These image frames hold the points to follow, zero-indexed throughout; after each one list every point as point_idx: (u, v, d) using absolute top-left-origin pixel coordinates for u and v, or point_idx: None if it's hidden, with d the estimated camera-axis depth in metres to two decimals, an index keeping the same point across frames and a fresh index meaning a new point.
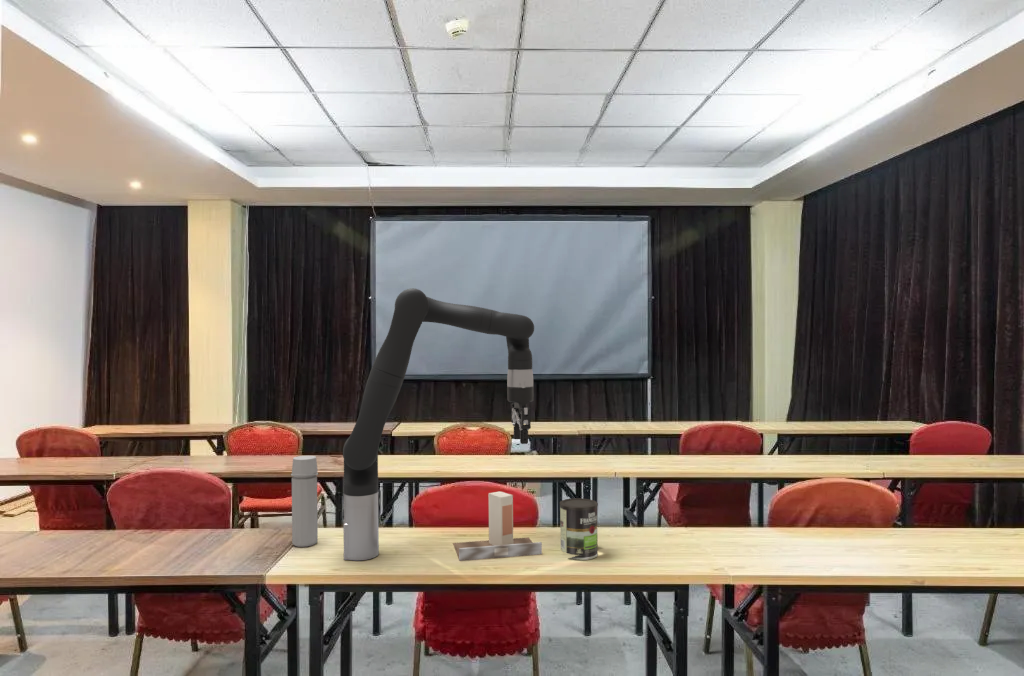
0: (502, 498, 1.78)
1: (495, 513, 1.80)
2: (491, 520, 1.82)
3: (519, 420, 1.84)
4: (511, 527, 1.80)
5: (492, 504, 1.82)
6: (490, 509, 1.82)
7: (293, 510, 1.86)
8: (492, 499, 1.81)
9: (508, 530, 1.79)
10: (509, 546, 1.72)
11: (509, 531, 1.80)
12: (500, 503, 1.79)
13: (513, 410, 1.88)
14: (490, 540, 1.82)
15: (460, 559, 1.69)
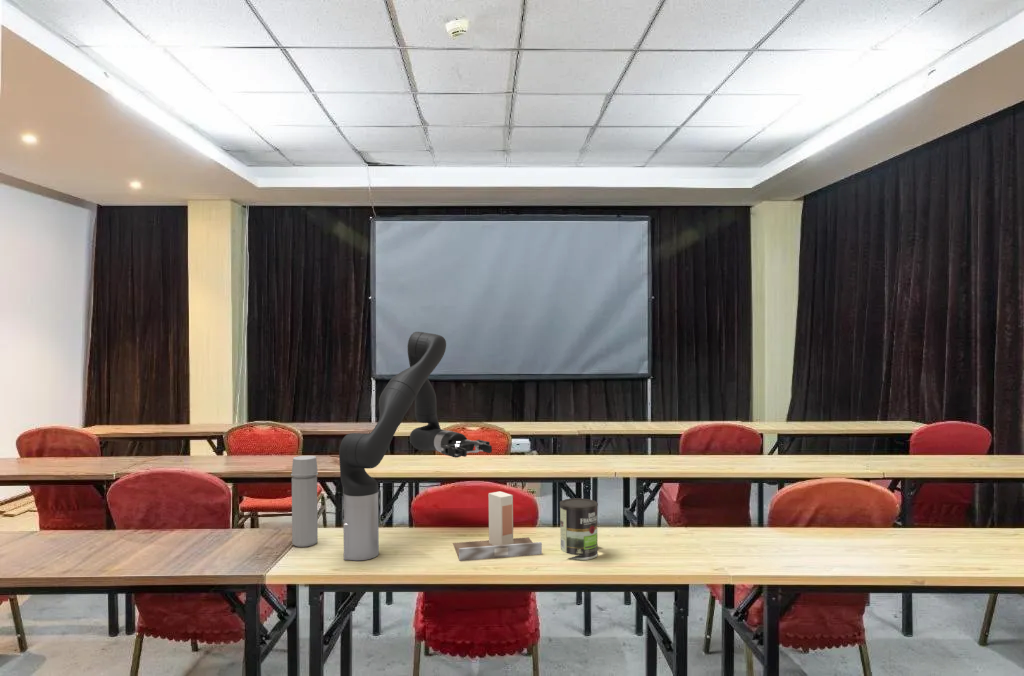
0: (502, 498, 1.78)
1: (495, 513, 1.80)
2: (491, 520, 1.82)
3: None
4: (511, 527, 1.80)
5: (492, 504, 1.82)
6: (490, 509, 1.82)
7: (293, 510, 1.86)
8: (492, 499, 1.81)
9: (508, 530, 1.79)
10: (509, 546, 1.72)
11: (509, 531, 1.80)
12: (500, 503, 1.79)
13: (460, 440, 1.97)
14: (490, 540, 1.82)
15: (460, 559, 1.69)
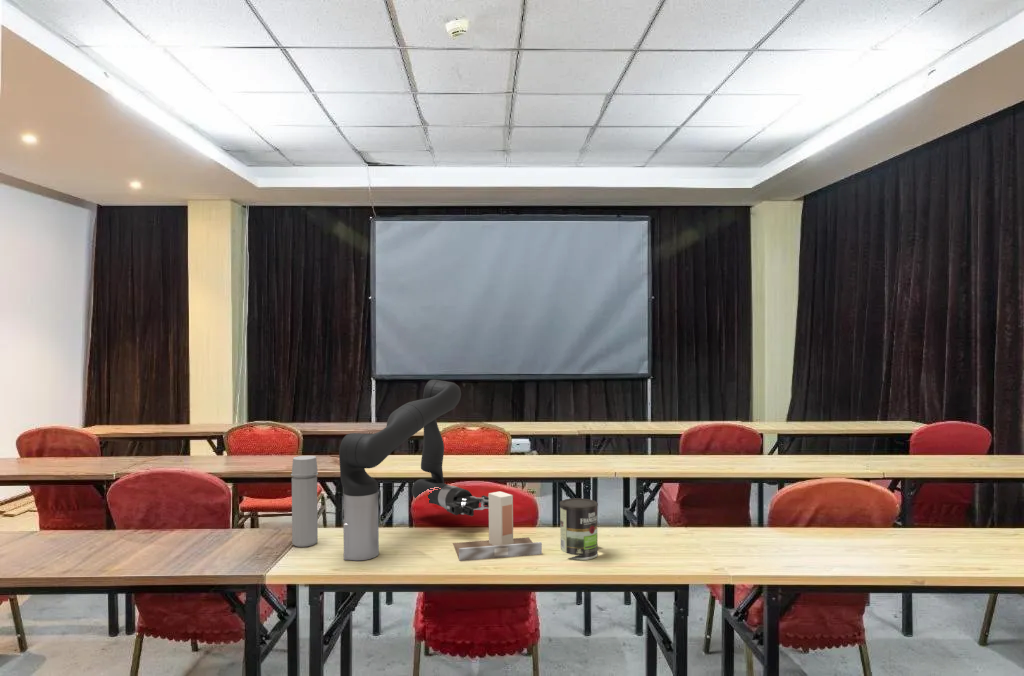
0: (502, 498, 1.78)
1: (495, 513, 1.80)
2: (491, 520, 1.82)
3: None
4: (511, 527, 1.80)
5: (492, 504, 1.82)
6: (490, 509, 1.82)
7: (293, 510, 1.86)
8: (492, 499, 1.81)
9: (508, 530, 1.79)
10: (509, 546, 1.72)
11: (509, 531, 1.80)
12: (500, 503, 1.79)
13: (466, 497, 1.95)
14: (490, 540, 1.82)
15: (460, 559, 1.69)
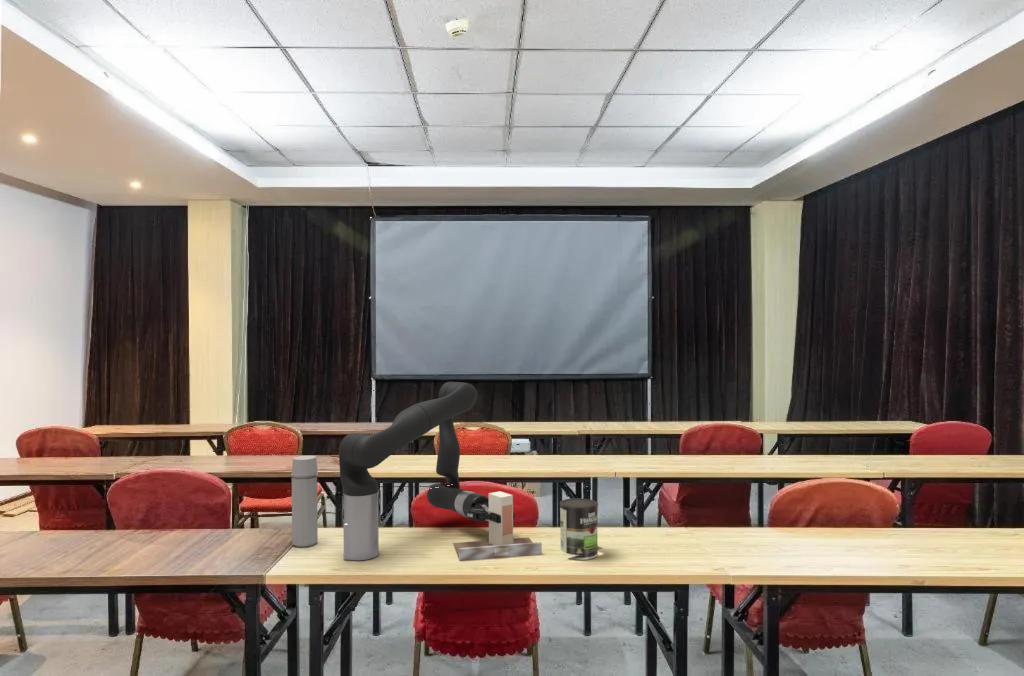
0: (502, 498, 1.78)
1: None
2: None
3: None
4: (511, 527, 1.80)
5: (492, 504, 1.82)
6: (490, 509, 1.82)
7: (293, 510, 1.86)
8: (492, 499, 1.81)
9: (508, 530, 1.79)
10: (509, 546, 1.72)
11: (509, 531, 1.80)
12: (500, 503, 1.79)
13: (484, 504, 1.87)
14: (490, 540, 1.82)
15: (460, 559, 1.69)
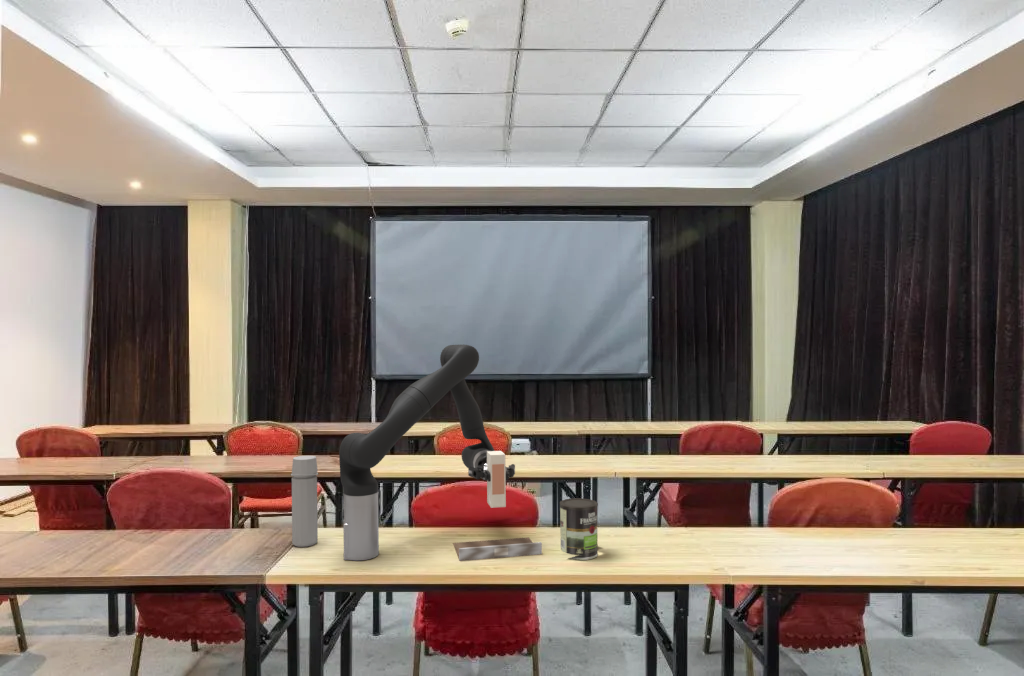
0: (492, 456, 1.74)
1: (489, 471, 1.76)
2: None
3: None
4: (503, 487, 1.74)
5: (488, 462, 1.78)
6: (487, 467, 1.79)
7: (293, 510, 1.86)
8: (488, 457, 1.78)
9: (499, 489, 1.74)
10: (509, 546, 1.72)
11: (500, 491, 1.74)
12: (490, 461, 1.74)
13: None
14: (487, 499, 1.79)
15: (460, 559, 1.69)
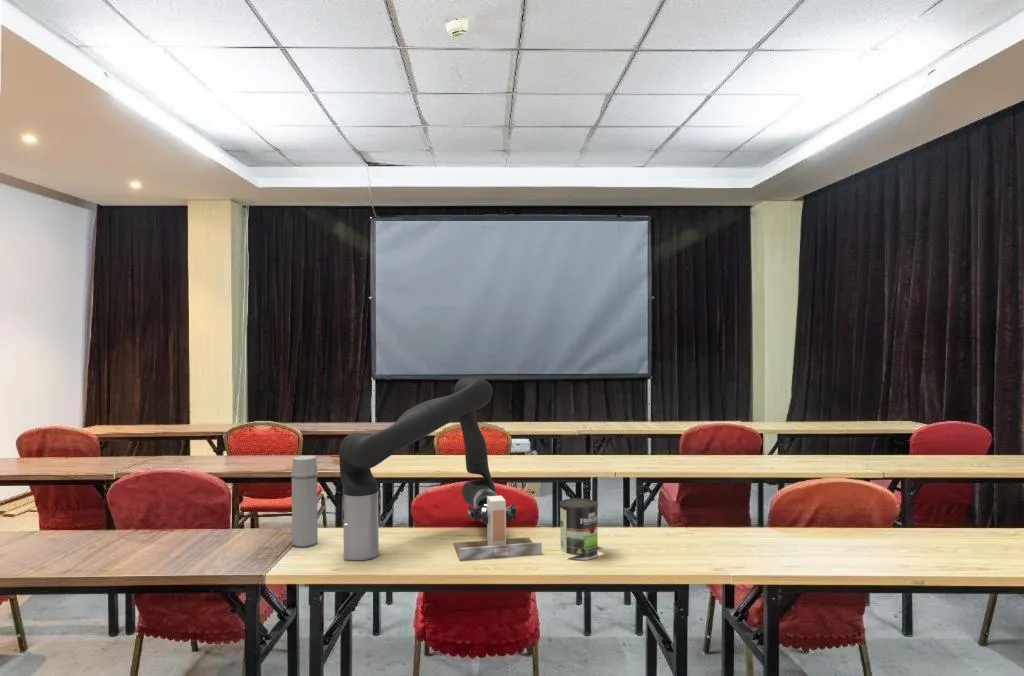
0: (492, 502, 1.74)
1: (489, 517, 1.76)
2: (488, 524, 1.78)
3: None
4: (503, 533, 1.74)
5: (488, 508, 1.78)
6: (487, 512, 1.79)
7: (293, 510, 1.86)
8: (488, 502, 1.78)
9: (499, 535, 1.74)
10: (509, 546, 1.72)
11: (501, 537, 1.74)
12: (490, 507, 1.74)
13: None
14: (488, 544, 1.79)
15: (460, 559, 1.69)
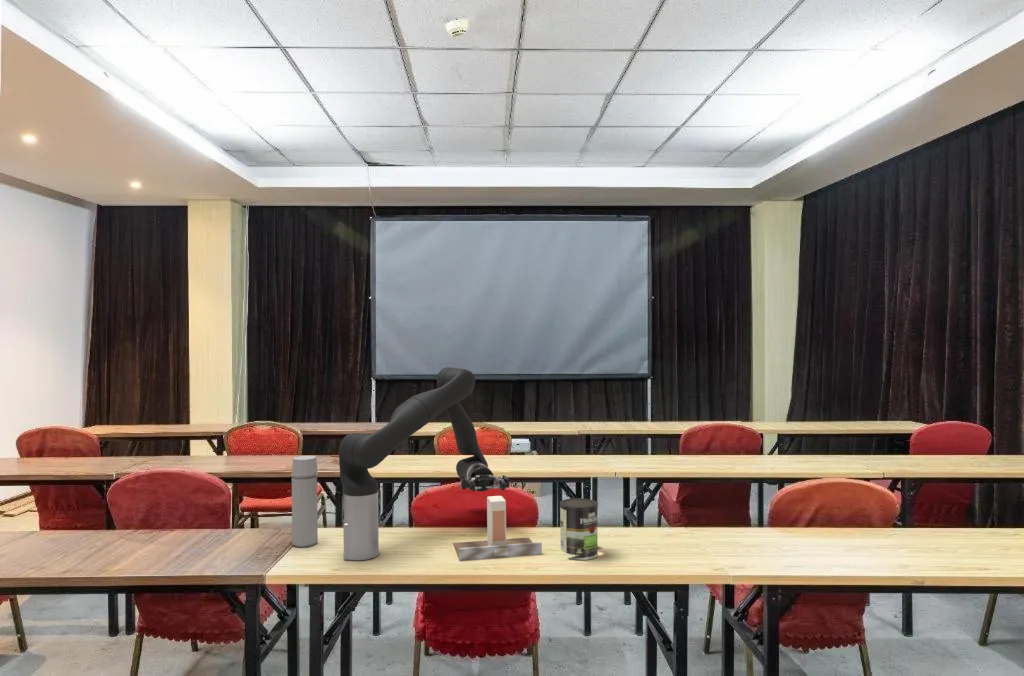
0: (492, 503, 1.74)
1: (489, 517, 1.76)
2: (488, 524, 1.78)
3: None
4: (503, 534, 1.74)
5: (488, 508, 1.78)
6: (487, 512, 1.79)
7: (293, 510, 1.86)
8: (488, 503, 1.78)
9: (499, 536, 1.74)
10: (509, 546, 1.72)
11: (501, 537, 1.74)
12: (490, 507, 1.74)
13: (481, 475, 1.96)
14: (488, 544, 1.79)
15: (460, 559, 1.69)
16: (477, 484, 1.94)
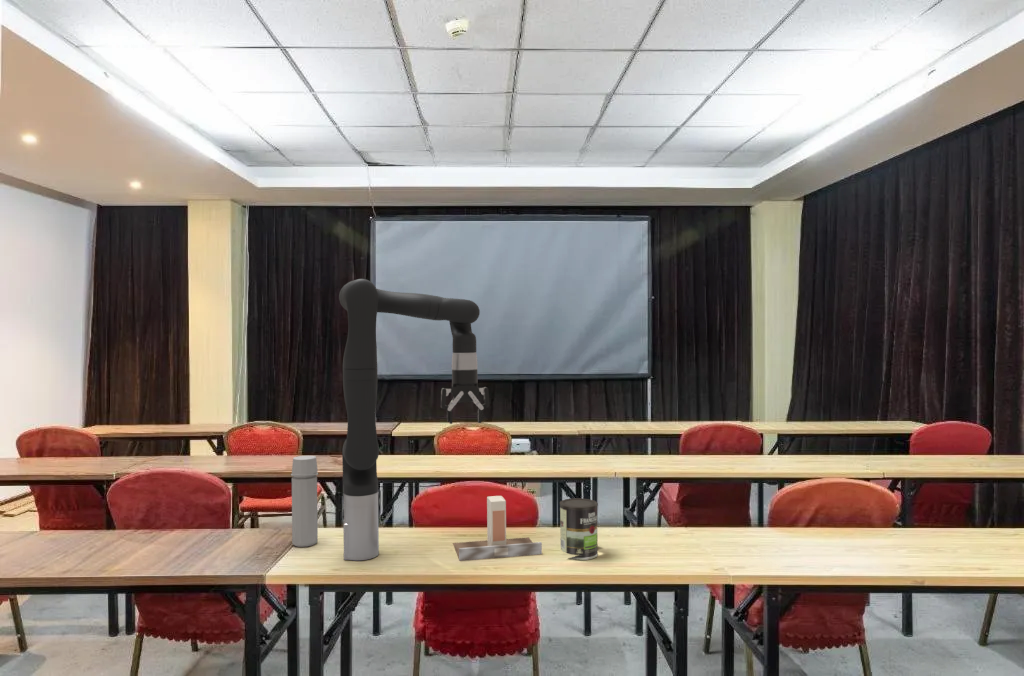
0: (492, 503, 1.74)
1: (489, 517, 1.76)
2: (488, 524, 1.78)
3: (478, 400, 1.92)
4: (503, 534, 1.74)
5: (488, 508, 1.78)
6: (487, 512, 1.79)
7: (293, 510, 1.86)
8: (488, 503, 1.78)
9: (499, 536, 1.74)
10: (509, 546, 1.72)
11: (501, 537, 1.74)
12: (490, 507, 1.74)
13: (463, 393, 1.90)
14: (488, 544, 1.79)
15: (460, 559, 1.69)
16: None
